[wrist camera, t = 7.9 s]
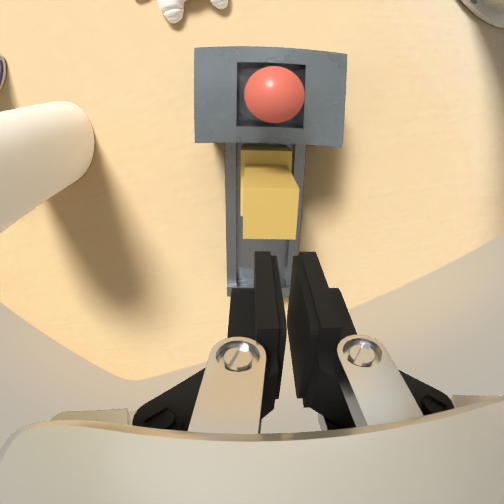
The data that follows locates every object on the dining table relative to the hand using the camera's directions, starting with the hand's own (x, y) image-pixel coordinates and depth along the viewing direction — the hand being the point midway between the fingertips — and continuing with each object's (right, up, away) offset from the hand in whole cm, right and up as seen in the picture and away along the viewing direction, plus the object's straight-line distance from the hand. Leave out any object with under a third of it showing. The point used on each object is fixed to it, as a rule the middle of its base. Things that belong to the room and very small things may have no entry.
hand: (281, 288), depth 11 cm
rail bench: (0, +8, +15) cm, 17 cm away
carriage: (0, +7, +14) cm, 15 cm away
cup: (-19, +11, +13) cm, 26 cm away
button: (0, +11, +7) cm, 14 cm away
